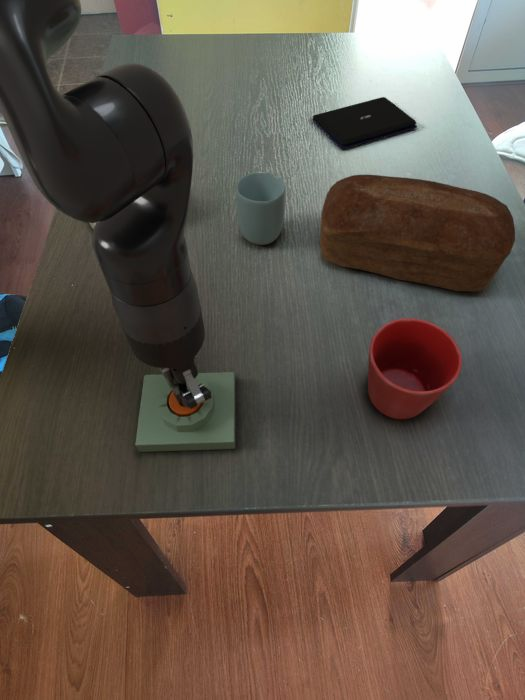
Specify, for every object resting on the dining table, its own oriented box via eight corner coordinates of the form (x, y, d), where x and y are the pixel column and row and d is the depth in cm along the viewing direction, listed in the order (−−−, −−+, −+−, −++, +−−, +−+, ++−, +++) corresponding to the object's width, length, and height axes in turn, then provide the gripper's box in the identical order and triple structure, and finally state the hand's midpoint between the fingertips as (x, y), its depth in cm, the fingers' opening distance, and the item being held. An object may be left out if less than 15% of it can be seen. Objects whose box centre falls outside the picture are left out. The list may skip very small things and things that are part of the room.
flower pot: (339, 386, 63) (350, 345, 55) (397, 348, 67) (415, 304, 59) (394, 446, 58) (415, 410, 50) (454, 401, 62) (482, 361, 54)
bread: (489, 307, 71) (526, 247, 61) (309, 269, 76) (317, 207, 65) (491, 247, 78) (525, 184, 68) (328, 215, 83) (337, 152, 73)
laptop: (306, 113, 102) (307, 104, 101) (389, 99, 106) (391, 90, 104) (332, 153, 94) (334, 144, 92) (422, 137, 97) (425, 128, 95)
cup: (274, 256, 77) (276, 207, 69) (231, 245, 79) (228, 195, 71) (289, 226, 81) (292, 177, 73) (248, 216, 83) (246, 166, 75)
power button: (169, 420, 58) (167, 414, 56) (172, 392, 60) (170, 385, 58) (202, 419, 58) (200, 413, 56) (203, 391, 60) (201, 384, 58)
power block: (139, 452, 58) (131, 439, 54) (147, 382, 63) (141, 367, 60) (235, 449, 58) (233, 435, 55) (235, 380, 64) (233, 364, 60)
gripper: (230, 340, 41) (239, 425, 55) (165, 251, 47) (188, 348, 62) (152, 379, 39) (182, 457, 53) (95, 280, 45) (136, 373, 59)
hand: (186, 398), depth 57 cm, fingers closed
